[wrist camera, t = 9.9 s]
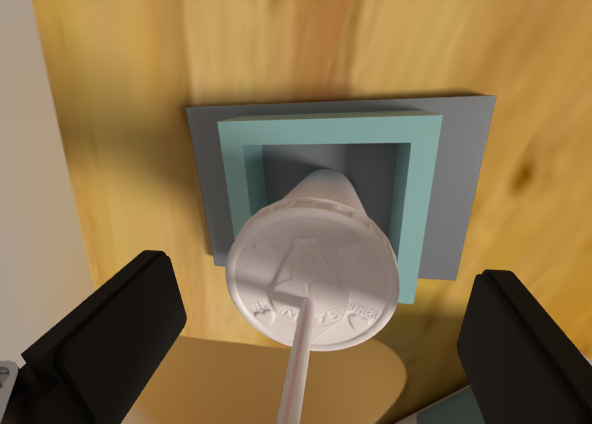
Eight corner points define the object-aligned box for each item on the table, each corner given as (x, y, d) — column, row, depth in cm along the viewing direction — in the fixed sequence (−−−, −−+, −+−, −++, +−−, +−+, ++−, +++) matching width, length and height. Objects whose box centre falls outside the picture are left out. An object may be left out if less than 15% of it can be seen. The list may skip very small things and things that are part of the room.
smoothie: (284, 237, 21) (184, 475, 8) (273, 150, 18) (105, 294, 5) (374, 237, 19) (426, 517, 7) (377, 144, 17) (466, 311, 4)
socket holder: (194, 106, 19) (151, 111, 15) (486, 95, 16) (537, 97, 12) (221, 257, 24) (193, 294, 20) (449, 270, 21) (476, 317, 17)
